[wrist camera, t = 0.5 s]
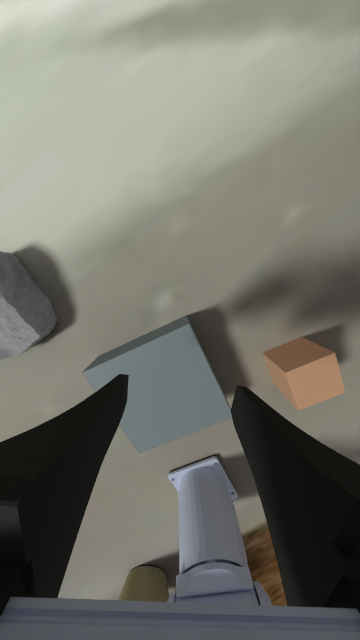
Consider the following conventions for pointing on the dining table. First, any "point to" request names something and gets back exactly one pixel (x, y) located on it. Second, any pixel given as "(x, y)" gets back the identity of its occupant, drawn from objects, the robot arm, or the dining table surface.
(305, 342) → the terracotta block
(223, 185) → the dining table surface
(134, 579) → the plant pot
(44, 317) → the stone block
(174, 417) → the slate box
